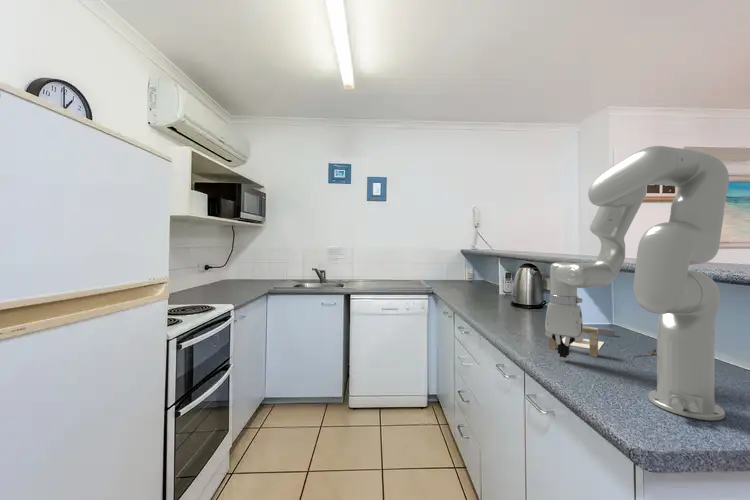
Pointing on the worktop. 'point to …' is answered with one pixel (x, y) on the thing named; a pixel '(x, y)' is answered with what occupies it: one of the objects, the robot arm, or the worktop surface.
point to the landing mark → (584, 343)
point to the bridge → (593, 341)
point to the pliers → (651, 352)
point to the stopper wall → (604, 331)
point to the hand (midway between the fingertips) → (563, 356)
